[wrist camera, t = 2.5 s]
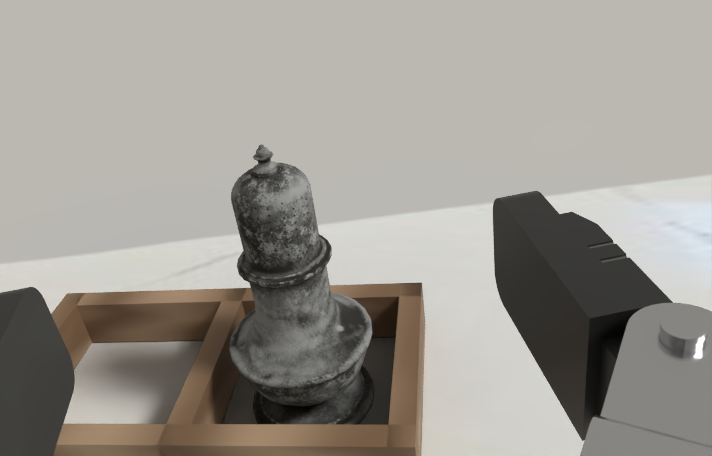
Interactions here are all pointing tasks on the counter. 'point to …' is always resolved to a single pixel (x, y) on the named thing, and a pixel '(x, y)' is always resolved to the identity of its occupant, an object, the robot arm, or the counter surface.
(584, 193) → the counter surface
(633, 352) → the robot arm
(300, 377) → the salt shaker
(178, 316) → the spice caddy
